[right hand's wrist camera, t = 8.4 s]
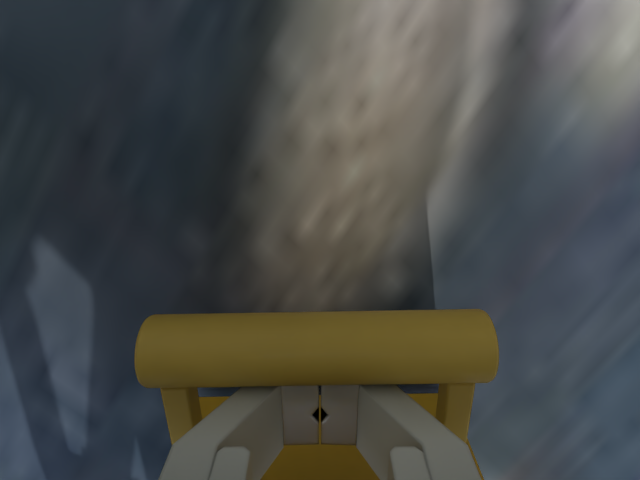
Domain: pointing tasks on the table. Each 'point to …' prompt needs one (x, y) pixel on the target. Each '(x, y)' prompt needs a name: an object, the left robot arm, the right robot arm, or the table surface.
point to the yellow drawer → (318, 367)
